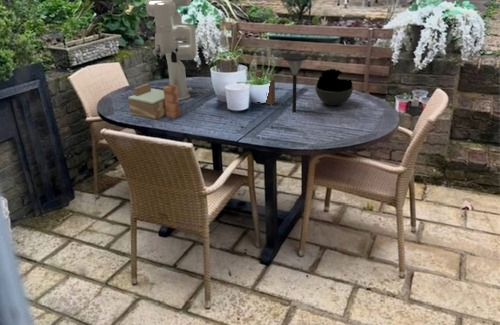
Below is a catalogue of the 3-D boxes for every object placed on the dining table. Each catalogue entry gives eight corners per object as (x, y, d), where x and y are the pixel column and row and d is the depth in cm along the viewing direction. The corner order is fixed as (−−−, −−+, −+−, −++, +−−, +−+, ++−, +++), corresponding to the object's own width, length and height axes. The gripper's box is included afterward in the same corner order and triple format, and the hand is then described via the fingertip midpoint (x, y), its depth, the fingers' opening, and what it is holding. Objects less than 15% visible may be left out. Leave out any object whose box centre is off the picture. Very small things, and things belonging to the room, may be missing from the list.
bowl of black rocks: (337, 96, 257) (339, 64, 249) (359, 106, 241) (362, 72, 233) (307, 102, 250) (308, 69, 242) (328, 113, 234) (330, 77, 225)
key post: (173, 113, 239) (169, 84, 232) (180, 115, 236) (177, 85, 229) (166, 116, 235) (163, 87, 228) (173, 118, 233) (170, 88, 226)
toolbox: (154, 104, 254) (152, 90, 250) (178, 109, 245) (176, 95, 241) (130, 114, 240) (128, 99, 237) (155, 119, 231) (153, 105, 228)
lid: (152, 90, 250) (151, 81, 248) (176, 94, 241) (175, 85, 239) (128, 99, 237) (126, 89, 234) (153, 104, 228) (151, 94, 225)
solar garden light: (310, 112, 234) (312, 55, 221) (291, 117, 229) (292, 58, 216) (296, 106, 244) (297, 51, 231) (278, 111, 238) (278, 54, 225)
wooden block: (272, 105, 247) (271, 73, 239) (255, 102, 252) (254, 71, 244) (275, 103, 250) (275, 71, 242) (258, 101, 254) (257, 69, 247)
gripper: (170, 26, 224) (173, 60, 232) (145, 31, 212) (149, 67, 219) (181, 27, 221) (184, 61, 228) (157, 32, 208) (161, 69, 215)
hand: (167, 64), depth 224 cm, fingers open, 9 cm apart
